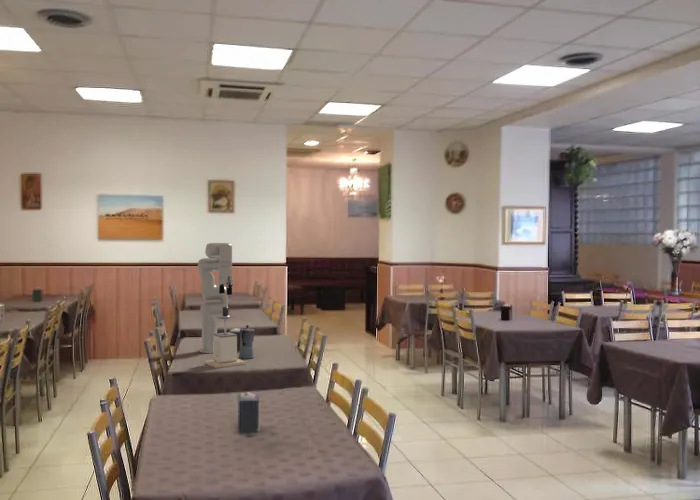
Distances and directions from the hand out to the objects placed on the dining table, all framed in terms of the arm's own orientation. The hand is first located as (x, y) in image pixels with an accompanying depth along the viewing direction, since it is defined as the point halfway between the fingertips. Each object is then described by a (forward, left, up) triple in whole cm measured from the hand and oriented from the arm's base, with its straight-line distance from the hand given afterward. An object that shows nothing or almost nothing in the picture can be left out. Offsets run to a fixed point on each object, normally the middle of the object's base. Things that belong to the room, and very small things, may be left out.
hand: (225, 294), depth 383 cm
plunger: (0, 0, -31) cm, 31 cm away
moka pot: (-8, +18, -41) cm, 46 cm away
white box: (0, 0, -41) cm, 41 cm away
